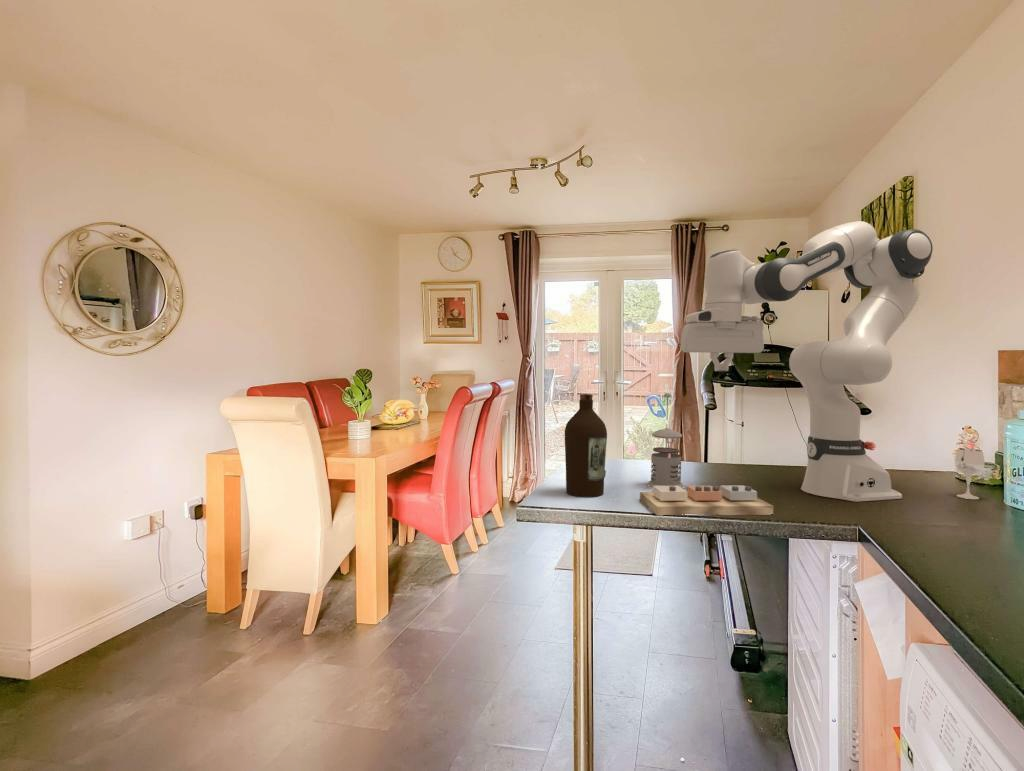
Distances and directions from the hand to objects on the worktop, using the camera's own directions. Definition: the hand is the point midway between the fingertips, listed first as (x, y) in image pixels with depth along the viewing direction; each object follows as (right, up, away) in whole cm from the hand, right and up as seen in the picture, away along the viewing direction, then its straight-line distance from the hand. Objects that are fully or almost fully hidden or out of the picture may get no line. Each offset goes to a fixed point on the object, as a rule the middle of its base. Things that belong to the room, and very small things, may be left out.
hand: (721, 371), depth 140 cm
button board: (-9, -32, -12) cm, 35 cm away
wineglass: (+62, -32, 0) cm, 70 cm away
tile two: (-1, -29, -12) cm, 32 cm away
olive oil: (-34, -31, +1) cm, 46 cm away
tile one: (-17, -29, -12) cm, 36 cm away
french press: (-11, -31, +11) cm, 34 cm away
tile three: (-9, -29, -12) cm, 33 cm away
